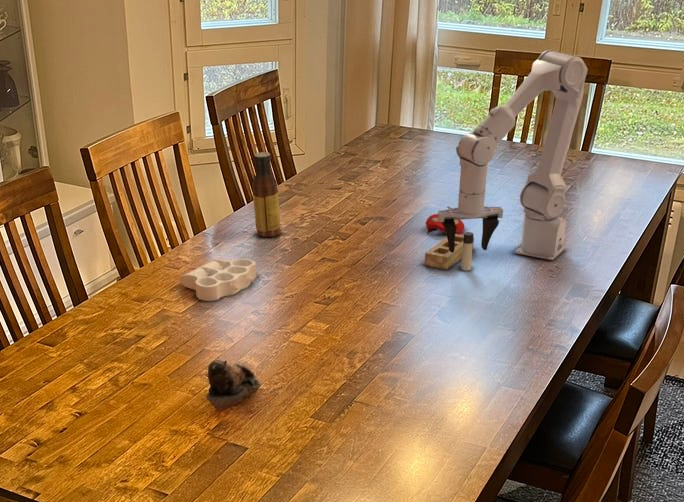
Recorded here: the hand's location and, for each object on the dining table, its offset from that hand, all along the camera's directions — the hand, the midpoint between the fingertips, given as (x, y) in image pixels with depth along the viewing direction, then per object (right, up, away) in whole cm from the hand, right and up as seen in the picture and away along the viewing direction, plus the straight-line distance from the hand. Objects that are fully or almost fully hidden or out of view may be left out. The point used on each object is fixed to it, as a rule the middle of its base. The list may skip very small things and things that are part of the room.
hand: (467, 249), depth 229 cm
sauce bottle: (-47, +10, +24) cm, 53 cm away
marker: (0, -4, +3) cm, 5 cm away
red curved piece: (-1, +12, +24) cm, 27 cm away
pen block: (-3, 0, +9) cm, 9 cm away
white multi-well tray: (-56, -9, -2) cm, 57 cm away
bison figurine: (-50, -40, -46) cm, 79 cm away
